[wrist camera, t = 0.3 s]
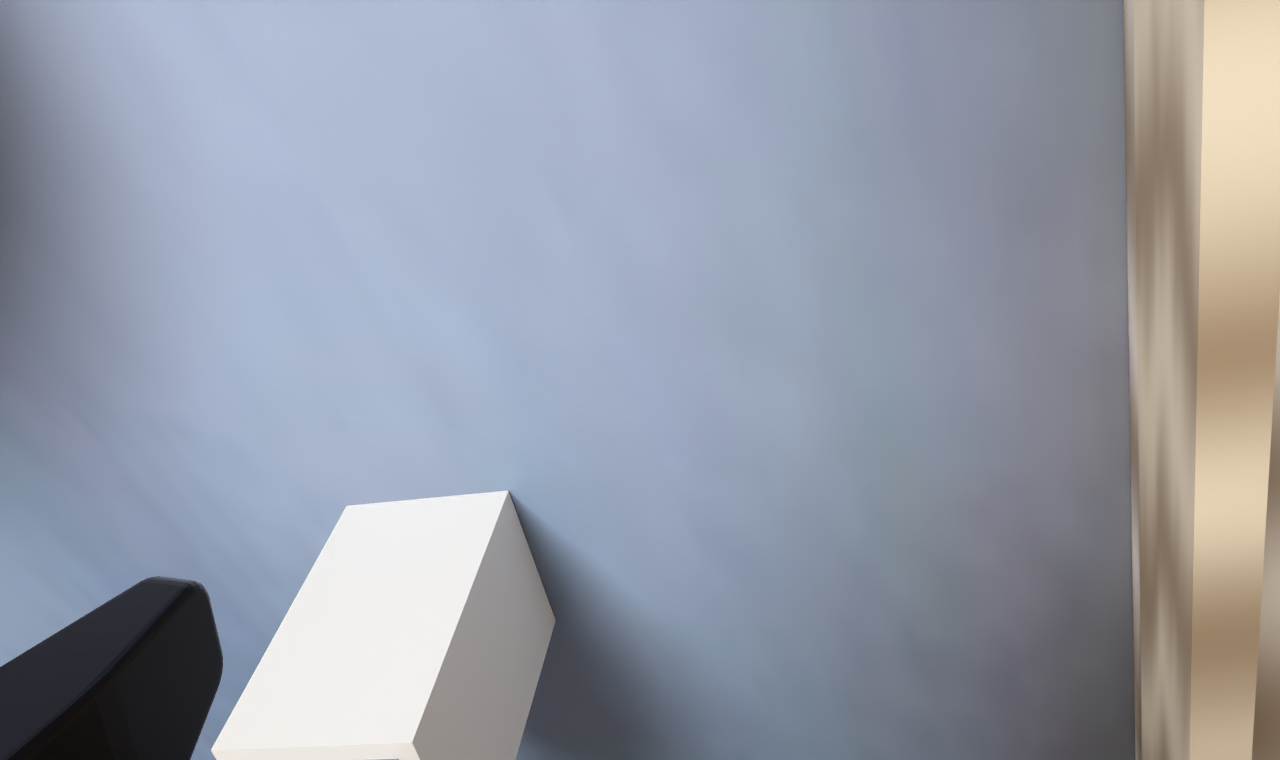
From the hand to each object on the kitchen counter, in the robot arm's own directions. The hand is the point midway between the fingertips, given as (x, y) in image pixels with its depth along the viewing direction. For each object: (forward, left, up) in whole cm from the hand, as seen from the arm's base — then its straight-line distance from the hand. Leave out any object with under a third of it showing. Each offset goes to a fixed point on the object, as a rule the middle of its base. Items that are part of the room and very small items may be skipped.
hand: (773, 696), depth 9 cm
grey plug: (-10, +10, -14) cm, 20 cm away
